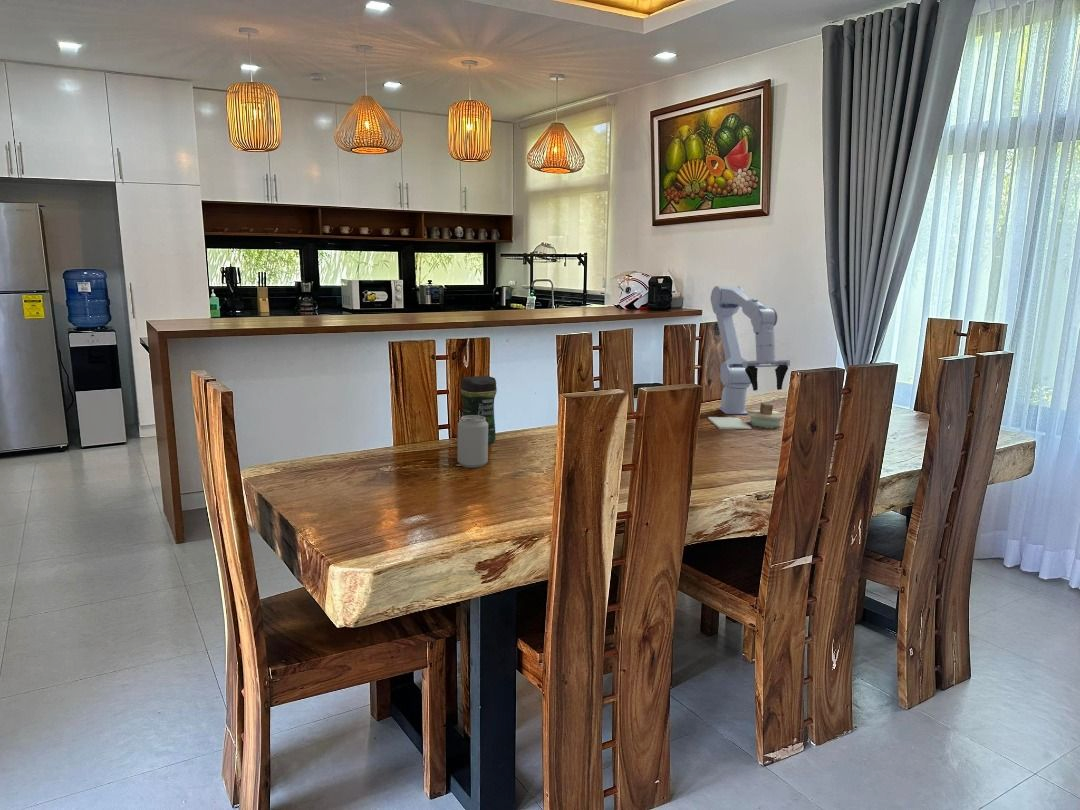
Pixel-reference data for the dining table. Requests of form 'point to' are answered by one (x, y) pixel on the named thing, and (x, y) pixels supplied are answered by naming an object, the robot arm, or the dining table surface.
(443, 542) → the dining table surface
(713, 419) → the mat
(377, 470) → the dining table surface
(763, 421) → the bowl
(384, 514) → the dining table surface
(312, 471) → the dining table surface
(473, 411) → the coffee jar
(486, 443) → the can
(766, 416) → the lid
